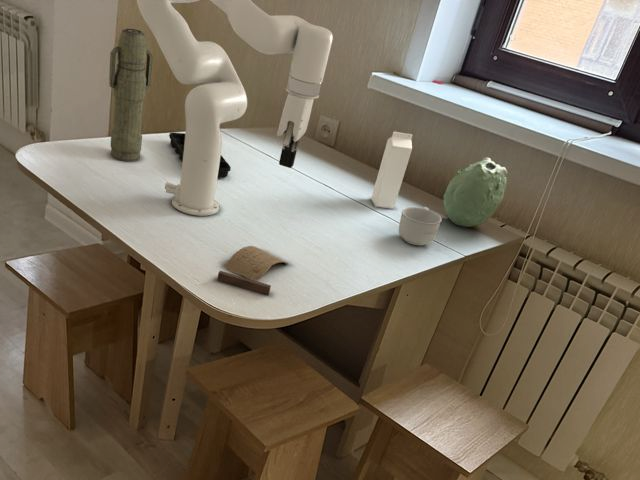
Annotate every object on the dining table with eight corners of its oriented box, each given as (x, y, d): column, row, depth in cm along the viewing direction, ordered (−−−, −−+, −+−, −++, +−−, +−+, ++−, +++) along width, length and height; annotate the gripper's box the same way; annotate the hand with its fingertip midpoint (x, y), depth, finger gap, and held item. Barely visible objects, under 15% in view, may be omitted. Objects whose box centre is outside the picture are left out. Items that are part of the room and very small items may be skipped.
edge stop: (217, 280, 151) (218, 272, 150) (218, 278, 152) (220, 270, 151) (268, 295, 150) (269, 287, 149) (269, 293, 151) (271, 285, 150)
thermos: (150, 160, 204) (160, 35, 184) (115, 163, 197) (122, 34, 178) (135, 149, 209) (144, 27, 190) (100, 152, 202) (106, 25, 183)
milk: (393, 209, 206) (416, 138, 194) (374, 206, 205) (396, 134, 193) (389, 201, 211) (410, 131, 199) (370, 198, 210) (390, 128, 198)
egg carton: (200, 142, 225) (201, 131, 223) (246, 178, 205) (248, 166, 203) (151, 144, 216) (152, 132, 214) (194, 181, 196) (196, 169, 194)
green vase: (424, 218, 204) (446, 154, 193) (458, 209, 216) (480, 148, 205) (467, 241, 196) (493, 175, 184) (500, 230, 208) (526, 167, 196)
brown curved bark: (257, 283, 153) (259, 273, 152) (222, 266, 157) (223, 255, 156) (291, 265, 164) (293, 255, 162) (257, 248, 168) (259, 239, 166)
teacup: (424, 253, 183) (433, 226, 179) (388, 238, 187) (396, 212, 183) (441, 239, 194) (450, 213, 189) (406, 225, 197) (415, 199, 193)
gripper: (296, 76, 157) (279, 152, 167) (278, 88, 145) (261, 170, 155) (327, 84, 156) (308, 161, 166) (311, 98, 144) (292, 179, 154)
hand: (285, 165), depth 161 cm, fingers closed
